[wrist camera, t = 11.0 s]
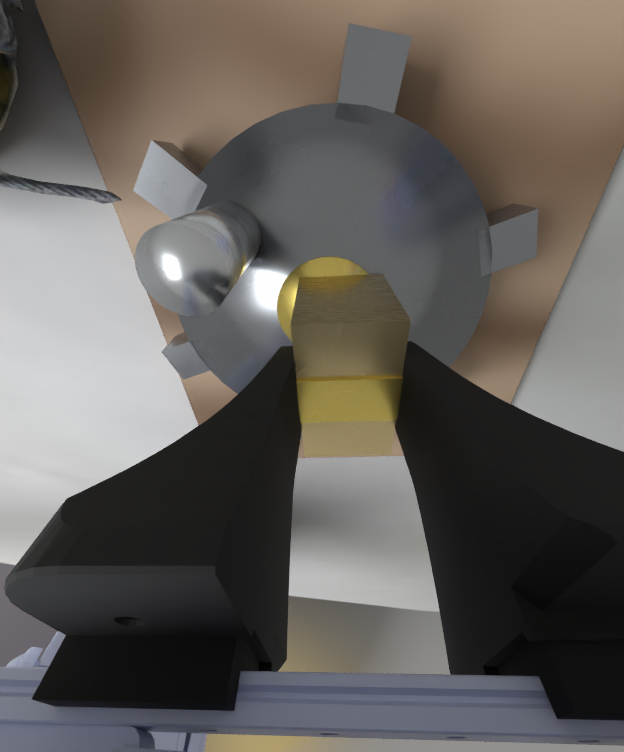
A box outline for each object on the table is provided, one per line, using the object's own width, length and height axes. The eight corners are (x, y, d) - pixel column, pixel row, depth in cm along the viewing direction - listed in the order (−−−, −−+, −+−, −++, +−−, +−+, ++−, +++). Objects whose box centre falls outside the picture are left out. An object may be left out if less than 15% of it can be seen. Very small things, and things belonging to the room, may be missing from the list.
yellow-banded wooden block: (373, 385, 13) (391, 457, 10) (308, 387, 14) (303, 458, 10) (382, 273, 11) (411, 321, 7) (299, 277, 11) (290, 326, 7)
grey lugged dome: (572, 279, 12) (736, 354, 7) (348, 450, 19) (357, 550, 14) (272, -110, 7) (172, -697, 2) (105, 310, 13) (-15, 392, 9)
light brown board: (484, 448, 19) (488, 454, 19) (214, 453, 20) (211, 459, 20) (701, -68, 8) (722, -81, 7) (44, -1, 9) (30, -9, 8)
